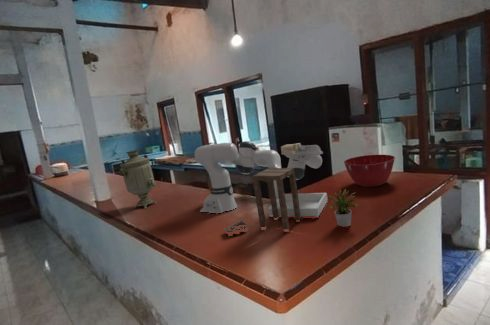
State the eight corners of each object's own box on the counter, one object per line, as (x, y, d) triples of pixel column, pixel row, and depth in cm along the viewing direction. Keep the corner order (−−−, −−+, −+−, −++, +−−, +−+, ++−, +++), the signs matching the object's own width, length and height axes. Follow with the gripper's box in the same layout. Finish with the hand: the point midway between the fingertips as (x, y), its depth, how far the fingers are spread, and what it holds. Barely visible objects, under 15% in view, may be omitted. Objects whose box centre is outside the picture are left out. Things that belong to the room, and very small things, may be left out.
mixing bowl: (336, 186, 192) (333, 162, 189) (369, 175, 203) (367, 152, 201) (372, 194, 167) (369, 166, 164) (408, 181, 178) (406, 155, 175)
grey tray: (269, 217, 156) (268, 208, 155) (283, 202, 177) (282, 193, 176) (318, 218, 145) (317, 208, 144) (327, 201, 166) (326, 192, 165)
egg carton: (244, 227, 149) (243, 219, 149) (250, 232, 142) (248, 224, 142) (224, 233, 146) (222, 225, 145) (228, 238, 139) (227, 230, 138)
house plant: (337, 236, 124) (332, 197, 121) (319, 225, 137) (315, 190, 134) (367, 227, 127) (363, 189, 124) (347, 217, 140) (343, 183, 138)
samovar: (132, 216, 197) (118, 155, 190) (119, 210, 217) (106, 155, 210) (174, 202, 215) (162, 146, 208) (158, 197, 235) (147, 146, 229)
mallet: (294, 149, 162) (293, 141, 162) (304, 148, 159) (303, 141, 158) (281, 154, 151) (280, 146, 151) (292, 154, 148) (291, 146, 147)
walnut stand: (275, 218, 153) (268, 168, 149) (301, 221, 145) (294, 167, 140) (260, 230, 142) (252, 176, 138) (287, 233, 134) (279, 175, 129)
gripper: (323, 159, 160) (313, 150, 150) (288, 160, 172) (276, 152, 162) (324, 147, 162) (314, 138, 151) (290, 149, 174) (278, 141, 163)
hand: (294, 145), depth 157 cm, fingers closed on mallet, 2 cm apart
